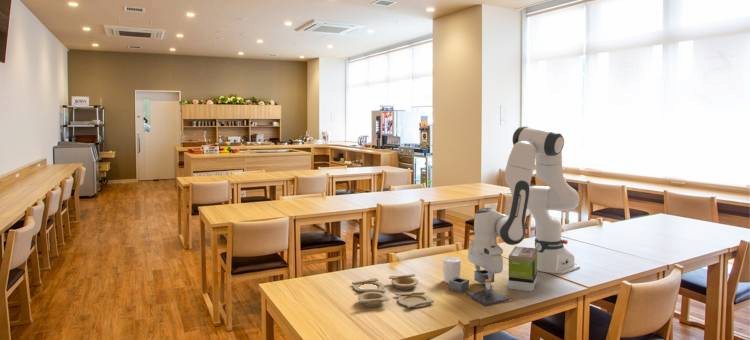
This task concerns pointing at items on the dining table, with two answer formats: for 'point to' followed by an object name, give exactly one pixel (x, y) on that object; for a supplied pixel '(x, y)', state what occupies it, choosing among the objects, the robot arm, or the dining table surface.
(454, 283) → the link
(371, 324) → the dining table surface
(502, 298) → the post
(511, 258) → the tea box
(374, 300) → the tableware set
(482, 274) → the link
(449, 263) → the white cup
